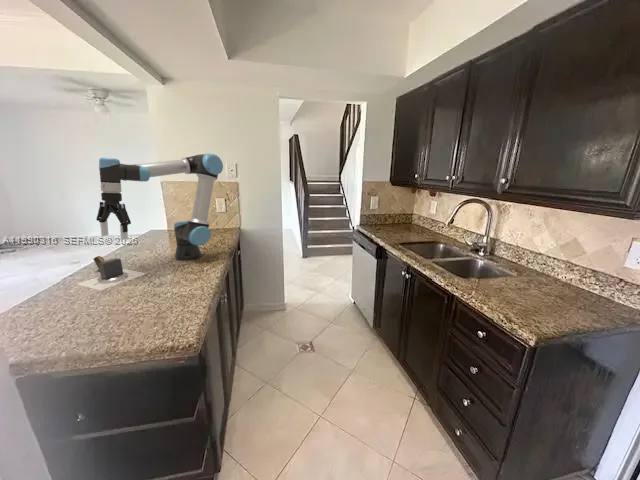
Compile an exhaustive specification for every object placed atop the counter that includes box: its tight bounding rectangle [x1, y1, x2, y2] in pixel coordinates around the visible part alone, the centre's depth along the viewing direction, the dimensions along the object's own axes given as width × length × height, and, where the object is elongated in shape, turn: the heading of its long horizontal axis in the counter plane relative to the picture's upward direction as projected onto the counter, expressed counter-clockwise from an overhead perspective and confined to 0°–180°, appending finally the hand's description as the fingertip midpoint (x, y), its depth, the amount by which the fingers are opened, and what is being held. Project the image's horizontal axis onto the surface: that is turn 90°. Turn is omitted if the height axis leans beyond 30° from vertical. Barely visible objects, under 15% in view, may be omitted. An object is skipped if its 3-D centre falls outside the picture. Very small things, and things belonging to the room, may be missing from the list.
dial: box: [97, 257, 128, 283], centre depth 132 cm, size 12×12×9 cm
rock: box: [93, 255, 106, 272], centre depth 146 cm, size 11×9×10 cm
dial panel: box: [76, 268, 147, 291], centre depth 133 cm, size 22×18×2 cm
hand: (114, 237), depth 129 cm, fingers open, 13 cm apart
